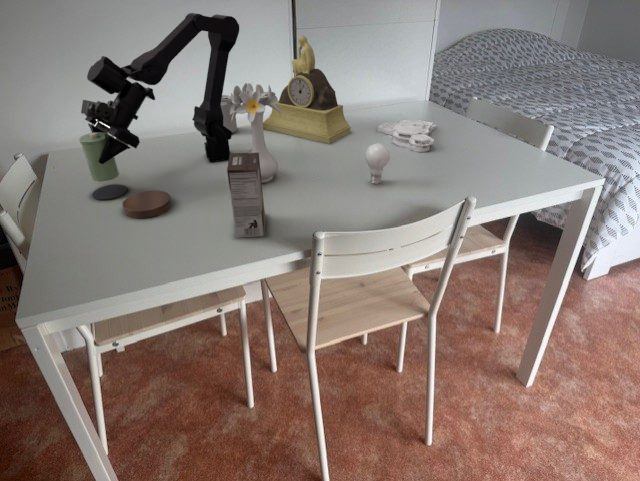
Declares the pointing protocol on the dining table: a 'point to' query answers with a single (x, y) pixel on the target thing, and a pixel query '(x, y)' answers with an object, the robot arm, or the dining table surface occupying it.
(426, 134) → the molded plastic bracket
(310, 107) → the decorative clock
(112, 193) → the coaster
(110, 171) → the canister
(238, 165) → the coffee box
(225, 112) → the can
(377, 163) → the lightbulb
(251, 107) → the flower vase
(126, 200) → the platform
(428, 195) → the dining table surface
